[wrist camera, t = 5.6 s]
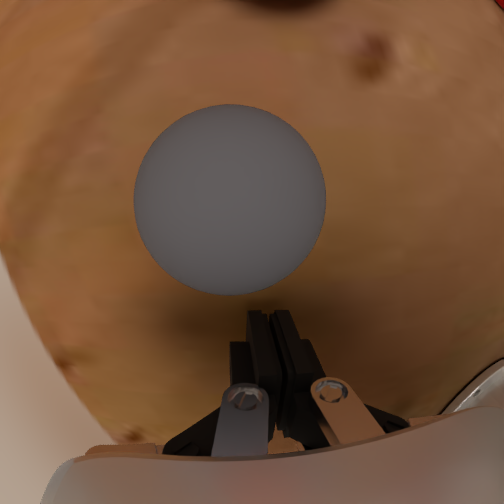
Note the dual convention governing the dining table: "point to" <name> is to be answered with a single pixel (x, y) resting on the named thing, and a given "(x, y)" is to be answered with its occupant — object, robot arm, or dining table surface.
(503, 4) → the beverage can
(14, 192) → the dining table surface
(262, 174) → the gray ball
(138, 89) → the dining table surface
